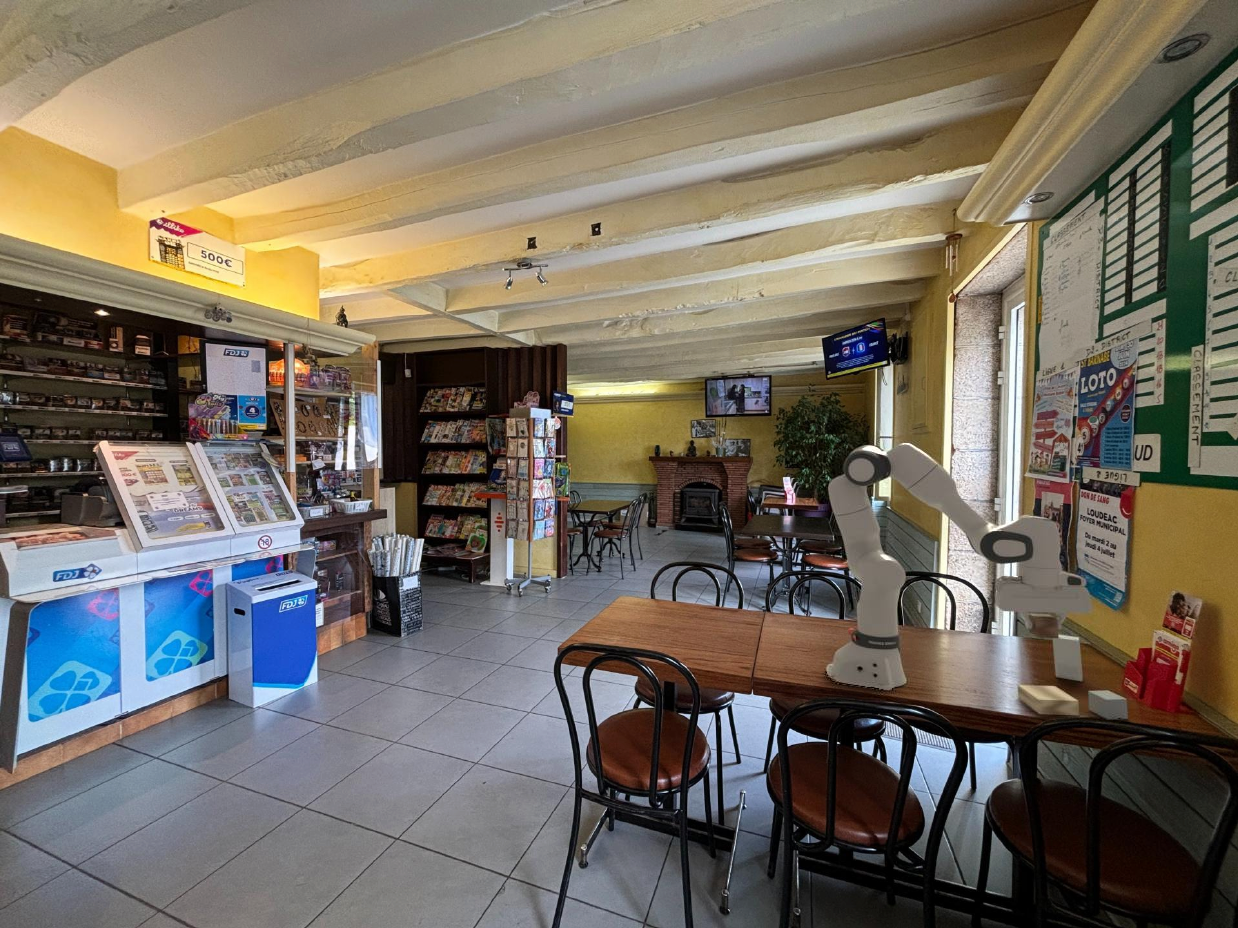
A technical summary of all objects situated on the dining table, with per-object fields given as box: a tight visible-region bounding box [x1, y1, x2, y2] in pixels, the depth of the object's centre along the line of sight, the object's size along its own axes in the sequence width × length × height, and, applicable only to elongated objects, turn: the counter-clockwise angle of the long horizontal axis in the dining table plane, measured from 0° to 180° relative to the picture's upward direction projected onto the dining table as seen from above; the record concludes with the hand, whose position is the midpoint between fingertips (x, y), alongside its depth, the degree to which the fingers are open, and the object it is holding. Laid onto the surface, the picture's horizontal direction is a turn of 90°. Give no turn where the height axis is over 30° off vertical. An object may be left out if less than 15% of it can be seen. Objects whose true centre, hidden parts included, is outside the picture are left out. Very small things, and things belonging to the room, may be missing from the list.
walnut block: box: [1028, 613, 1059, 639], centre depth 135 cm, size 4×4×5 cm
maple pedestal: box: [1017, 684, 1080, 716], centre depth 135 cm, size 9×9×4 cm
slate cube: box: [1087, 689, 1129, 720], centre depth 129 cm, size 5×5×5 cm
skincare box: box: [1052, 634, 1083, 682], centre depth 152 cm, size 6×4×12 cm
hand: (1043, 628), depth 135 cm, fingers closed on walnut block, 4 cm apart
